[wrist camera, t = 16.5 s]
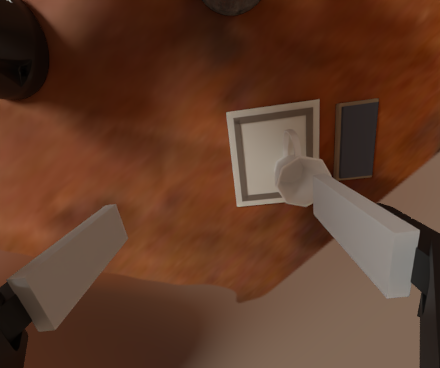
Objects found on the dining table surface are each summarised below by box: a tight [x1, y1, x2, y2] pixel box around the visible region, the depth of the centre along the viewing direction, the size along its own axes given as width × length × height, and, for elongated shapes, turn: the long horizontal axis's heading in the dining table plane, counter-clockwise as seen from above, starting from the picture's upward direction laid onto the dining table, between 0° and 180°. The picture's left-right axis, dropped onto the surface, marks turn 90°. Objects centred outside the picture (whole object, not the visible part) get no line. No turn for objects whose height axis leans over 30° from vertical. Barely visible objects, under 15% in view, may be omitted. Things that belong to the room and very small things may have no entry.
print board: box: [226, 99, 320, 207], centre depth 34 cm, size 16×14×1 cm
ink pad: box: [334, 98, 379, 181], centre depth 32 cm, size 12×6×2 cm, turn 7°
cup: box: [274, 129, 332, 207], centre depth 29 cm, size 7×10×8 cm
